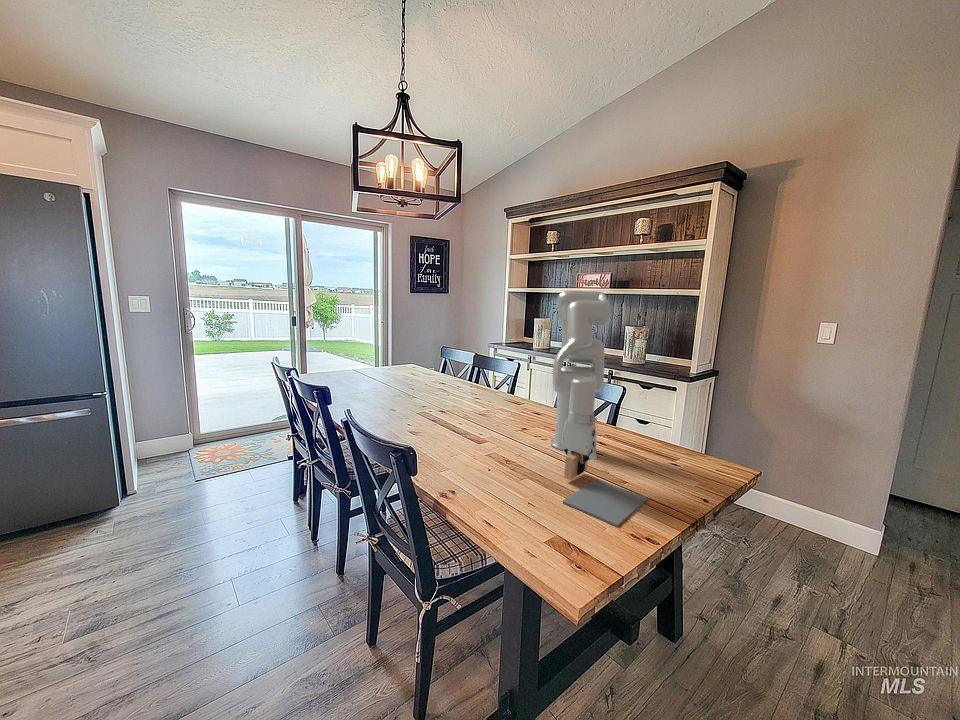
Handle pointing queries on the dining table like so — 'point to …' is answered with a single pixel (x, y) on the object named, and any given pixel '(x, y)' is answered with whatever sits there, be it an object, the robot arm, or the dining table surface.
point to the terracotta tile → (572, 465)
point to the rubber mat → (606, 502)
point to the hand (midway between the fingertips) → (576, 471)
